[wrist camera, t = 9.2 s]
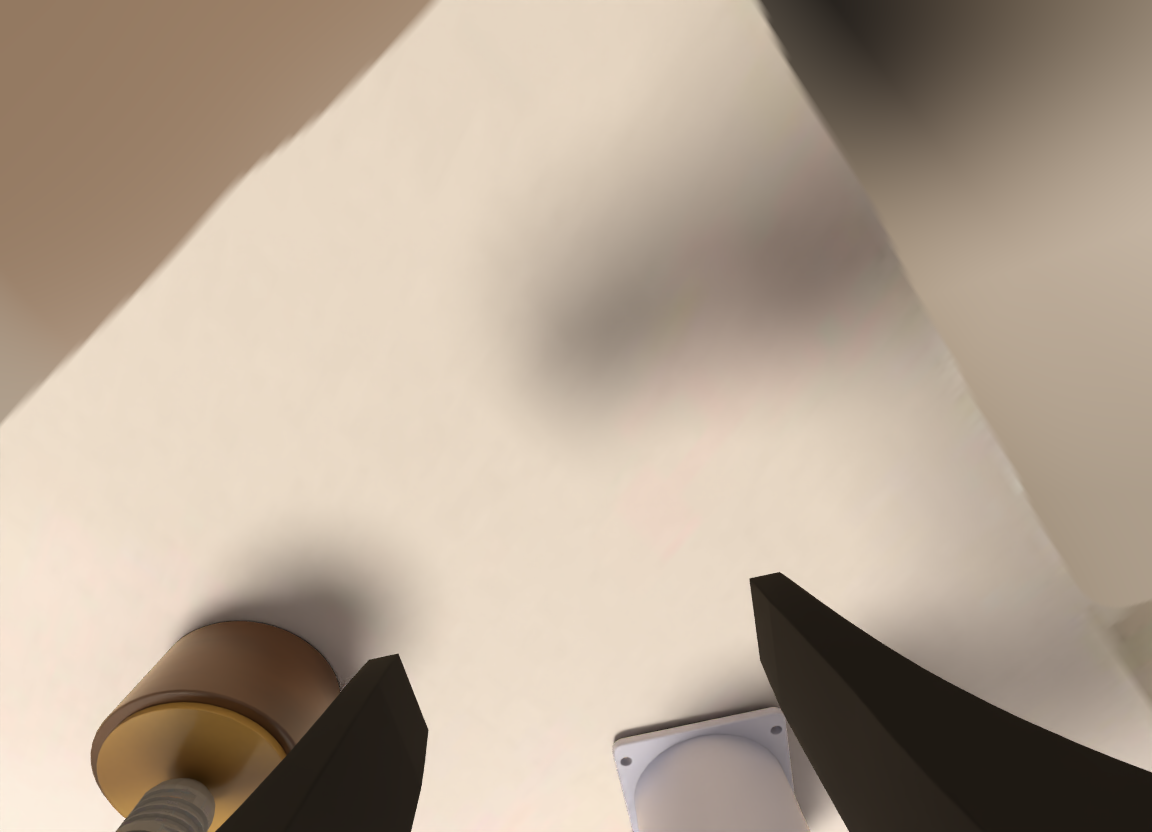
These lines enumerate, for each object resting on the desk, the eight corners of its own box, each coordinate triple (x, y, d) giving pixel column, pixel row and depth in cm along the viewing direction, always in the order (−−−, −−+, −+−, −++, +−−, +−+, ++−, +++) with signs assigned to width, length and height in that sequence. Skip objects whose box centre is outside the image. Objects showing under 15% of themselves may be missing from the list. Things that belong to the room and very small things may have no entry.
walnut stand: (365, 739, 24) (331, 831, 21) (204, 773, 25) (141, 871, 21) (304, 603, 22) (254, 678, 18) (127, 641, 22) (41, 723, 18)
